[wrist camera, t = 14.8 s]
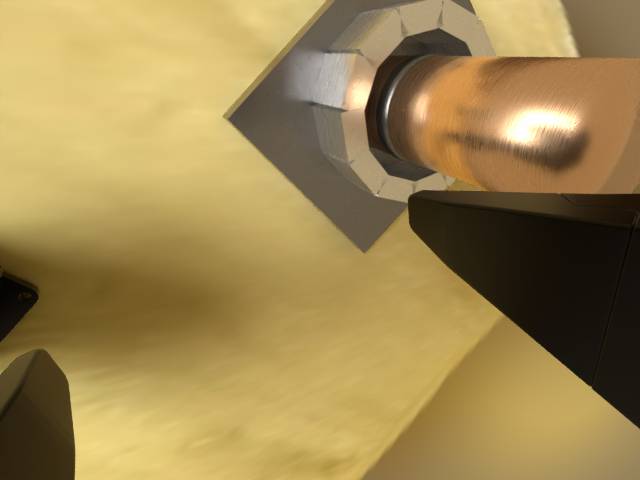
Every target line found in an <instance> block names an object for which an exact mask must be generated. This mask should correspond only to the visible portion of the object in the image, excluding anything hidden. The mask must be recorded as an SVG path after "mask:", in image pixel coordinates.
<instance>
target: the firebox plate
mask: <svg viewBox="0 0 640 480" xmlns="http://www.w3.org/2000/svg"><path fill="white" fill-rule="evenodd" d="M478 18H479V17H478V16H476V14H475V11H474V9H473V7H472V4H471V2H470V0H327V1H326V2H325V3H324V4H323V6H322V7H321V8H320V9H319V10H318V11H317V12H316V13H315V14H314V16H313V17H312V18H311V19H310V20H309V21H308V22H307V23H306V24H305V26H304V27H303V28H302V29H301V30H300V31H299V32H298V33H297V34H296V35H295V37H294V38H293V39H292V40H291V41H290V42H289V43H288V44H287V45H286V47H285V48H284V49H283V50H282V51H281V52H280V53H279V54H278V55H277V57H276V58H275V59H274V60H273V61H272V62H271V63H270V64H269V65H268V66H267V68H266V69H265V70H264V71H263V72H262V73H261V74H260V75H259V76H258V78H257V79H256V80H255V81H254V82H253V83H252V84H251V85H250V86H249V88H248V89H247V90H246V91H245V92H244V93H243V94H242V95H241V96H240V98H239V99H238V100H237V101H236V102H235V103H234V104H233V105H232V106H231V107H230V109H229V110H228V111H227V112H226V113H225V114H224V115H223V117H224V118H225V119H226V120H227V121H228V122H229V123H230V124H231V125H232V126H233V127H234V128H235V129H236V130H237V131H238V132H239V133H240V134H241V135H242V136H243V137H244V138H245V139H246V140H247V141H248V142H249V143H250V144H251V145H252V146H253V147H254V148H255V149H256V150H257V151H258V152H259V153H260V154H261V155H262V156H264V157H265V158H266V159H267V160H268V161H269V162H270V163H271V164H272V165H273V166H274V167H275V168H276V169H277V170H278V171H279V172H280V173H281V174H282V175H283V176H284V177H285V178H286V179H287V180H288V181H289V182H290V183H291V184H292V185H293V186H294V187H295V188H296V189H297V190H298V191H299V192H300V193H301V194H302V195H303V196H304V197H306V198H307V199H308V200H309V201H310V202H311V203H312V204H313V205H314V206H315V207H316V208H317V209H318V210H319V211H320V212H321V213H322V214H323V215H324V216H325V217H326V218H327V219H328V220H329V221H330V222H331V223H332V224H333V225H334V226H335V227H336V228H337V229H338V230H339V231H340V232H341V233H342V234H343V235H344V236H345V237H346V238H347V239H349V240H350V241H351V242H352V243H353V244H354V245H355V246H356V247H357V248H358V249H359V250H361V251H362V252H363V253H365V252H366V251H367V250H368V249H369V248H370V247H371V246H372V244H373V243H374V242H375V241H376V240H377V239H378V238H379V237H380V236H381V234H382V233H383V232H384V231H385V230H386V229H387V228H388V227H389V226H390V224H391V223H392V222H393V221H394V220H395V219H396V218H397V217H398V216H399V214H400V213H401V212H402V211H403V210H404V209H405V208H406V207H407V206H408V197H409V196H410V195H411V194H413V193H415V192H418V191H420V190H445V189H446V186H448V187H450V185H451V184H452V183H453V182H454V181H455V180H456V179H455V178H452V177H450V176H447V175H444V174H442V173H439V172H436V171H434V170H431V169H428V168H426V167H423V166H420V165H412V164H409V163H407V162H404V161H401V160H399V159H397V158H395V157H393V156H392V155H391V154H388V153H386V152H383V151H380V150H378V149H375V148H372V147H370V146H369V145H368V137H367V129H366V121H365V114H364V110H365V107H366V103H367V100H368V97H369V94H370V90H371V87H372V84H373V81H374V77H375V74H376V71H377V68H378V67H379V66H380V65H381V63H382V62H383V61H384V60H385V59H386V58H387V57H388V56H391V55H407V56H415V55H418V54H423V53H441V54H446V55H449V56H491V57H496V55H495V53H494V50H493V48H492V46H491V43H490V41H489V38H488V36H487V33H486V31H485V28H484V26H483V23H482V21H481V20H478Z"/></svg>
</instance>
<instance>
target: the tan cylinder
mask: <svg viewBox="0 0 640 480" xmlns="http://www.w3.org/2000/svg"><path fill="white" fill-rule="evenodd" d="M364 114H365V121H366V129H367V137H368V145H369V146H370V147H372V148H375V149H378V150H380V151H383V152H386V153H388V154H391V155H392V156H393V157H395V158H397V159H399V160H401V161H404V162H407V163H409V164H412V165H420V166H423V167H426V168H428V169H431V170H434V171H436V172H439V173H442V174H444V175H447V176H450V177H452V178H455V179H458V180H461V181H463V182H466V183H469V184H471V185H474V186H477V187H479V188H482V189H485V190H487V191H490V192H531V193H558V194H561V193H575V194H631V193H632V192H633V190H634V189H635V188H636V186H637V185H638V183H639V182H640V58H575V57H491V56H449V55H446V54H441V53H423V54H418V55H415V56H407V55H391V56H388V57H387V58H386V59H385V60H384V61H383V62H382V63H381V65H380V66H379V67H378V68H377V71H376V74H375V77H374V81H373V84H372V87H371V90H370V94H369V97H368V100H367V103H366V107H365V110H364Z"/></svg>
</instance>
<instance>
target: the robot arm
mask: <svg viewBox="0 0 640 480" xmlns="http://www.w3.org/2000/svg"><path fill="white" fill-rule="evenodd" d="M408 213H409V223H410V226H411V229H412V230H413V231H414V232H415V233H416V235H417V236H418V237H419V238H420V239H421V240H422V241H423V242H424V243H425V244H426V245H427V246H428V247H429V248H430V249H431V250H432V251H433V252H434V253H435V254H436V255H437V256H438V258H439V259H440V260H441V261H442V262H443V263H444V264H445V265H446V266H448V267H449V268H450V269H451V270H452V271H453V272H454V273H456V274H457V275H458V276H459V277H460V278H461V279H463V280H464V281H465V282H466V283H467V284H469V285H470V286H471V287H472V288H473V289H475V290H476V291H477V292H478V293H479V294H480V295H482V296H483V297H484V298H485V299H486V300H488V301H489V302H490V303H491V304H492V305H494V306H495V307H496V308H497V309H498V310H499V311H501V312H502V313H503V314H504V315H505V316H507V317H508V318H509V319H510V320H511V321H513V322H514V323H515V324H516V325H517V326H519V327H520V328H521V329H522V330H523V331H524V332H526V333H527V334H528V335H529V336H530V337H532V338H533V339H534V340H535V341H536V342H538V343H539V344H540V345H541V346H542V347H544V348H545V349H546V350H547V351H548V352H550V353H551V354H552V355H553V356H554V357H555V358H557V359H558V360H559V361H560V362H561V363H562V364H564V365H565V366H566V367H567V368H569V369H570V370H571V371H572V372H573V373H574V374H576V375H577V376H578V377H579V378H580V379H582V380H583V381H584V382H585V383H586V384H587V385H589V386H592V389H593V390H594V391H595V392H597V393H598V394H599V395H600V396H601V397H602V398H604V399H605V400H606V401H607V402H608V403H610V404H611V405H612V406H613V407H614V408H616V409H617V410H618V411H619V412H620V413H622V414H623V415H624V416H625V417H626V418H627V419H629V420H630V421H631V422H632V423H633V424H634V425H636V426H637V427H638V428H639V429H640V194H575V193H561V194H558V193H531V192H489V191H447V190H420V191H418V192H415V193H413V194H411V195H410V196H409V197H408ZM21 293H29V294H30V295H31V297H29V298H24V297H22V296H20V294H21ZM38 298H39V289H38V288H37V287H36V286H34V285H32V284H30V283H28V282H26V281H24V280H22V279H19V278H17V277H15V276H13V275H11V274H9V273H6V272H4V271H2V268H1V266H0V342H1V341H2V340H3V339H4V338H5V337H6V335H7V334H8V333H9V332H10V331H11V330H12V329H13V328H14V327H15V325H16V324H17V323H18V322H19V321H20V320H21V319H22V318H23V317H24V315H25V314H26V313H27V312H28V311H29V310H30V309H31V308H32V307H33V306H34V304H35V303H36V302H37V300H38ZM0 480H75V440H74V430H73V421H72V411H71V402H70V392H69V384H68V380H67V378H66V376H65V374H64V373H63V372H62V370H61V369H60V368H59V366H58V365H57V364H56V363H55V361H54V360H53V359H52V357H51V356H50V355H49V354H48V352H47V351H45V350H44V349H40V348H39V349H36V350H33V351H31V352H28V353H26V354H24V355H21V356H19V357H18V358H16V359H15V360H14V361H13V362H12V364H11V365H10V366H9V367H8V368H7V369H6V370H5V371H4V372H3V373H2V374H1V375H0Z"/></svg>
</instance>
